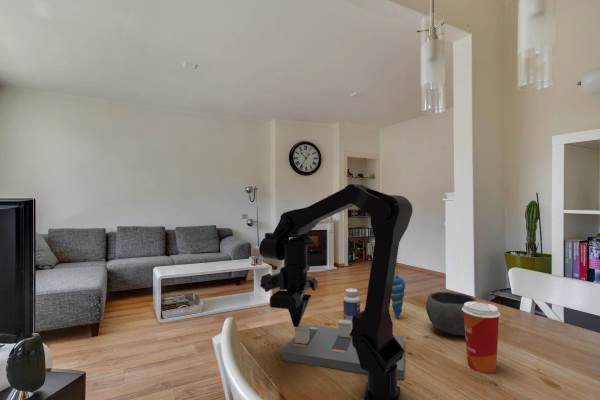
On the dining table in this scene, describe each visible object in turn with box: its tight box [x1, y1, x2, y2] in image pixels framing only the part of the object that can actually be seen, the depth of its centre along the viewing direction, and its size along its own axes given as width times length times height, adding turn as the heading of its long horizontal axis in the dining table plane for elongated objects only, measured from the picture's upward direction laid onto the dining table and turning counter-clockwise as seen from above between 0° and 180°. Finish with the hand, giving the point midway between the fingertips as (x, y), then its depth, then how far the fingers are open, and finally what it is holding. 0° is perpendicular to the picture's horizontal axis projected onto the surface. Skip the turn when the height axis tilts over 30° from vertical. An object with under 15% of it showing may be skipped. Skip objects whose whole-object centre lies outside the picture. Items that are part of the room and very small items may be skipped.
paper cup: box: [462, 301, 501, 374], centre depth 71 cm, size 8×8×14 cm
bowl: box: [425, 291, 479, 336], centre depth 91 cm, size 15×15×10 cm
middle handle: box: [337, 319, 352, 338], centre depth 83 cm, size 2×3×4 cm
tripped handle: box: [294, 324, 310, 344], centre depth 80 cm, size 2×3×4 cm
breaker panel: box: [281, 323, 405, 381], centre depth 79 cm, size 18×28×2 cm, turn 71°
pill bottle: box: [342, 288, 361, 321], centre depth 100 cm, size 5×5×10 cm
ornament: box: [390, 273, 406, 319], centre depth 102 cm, size 5×5×15 cm
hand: (296, 326), depth 75 cm, fingers closed
